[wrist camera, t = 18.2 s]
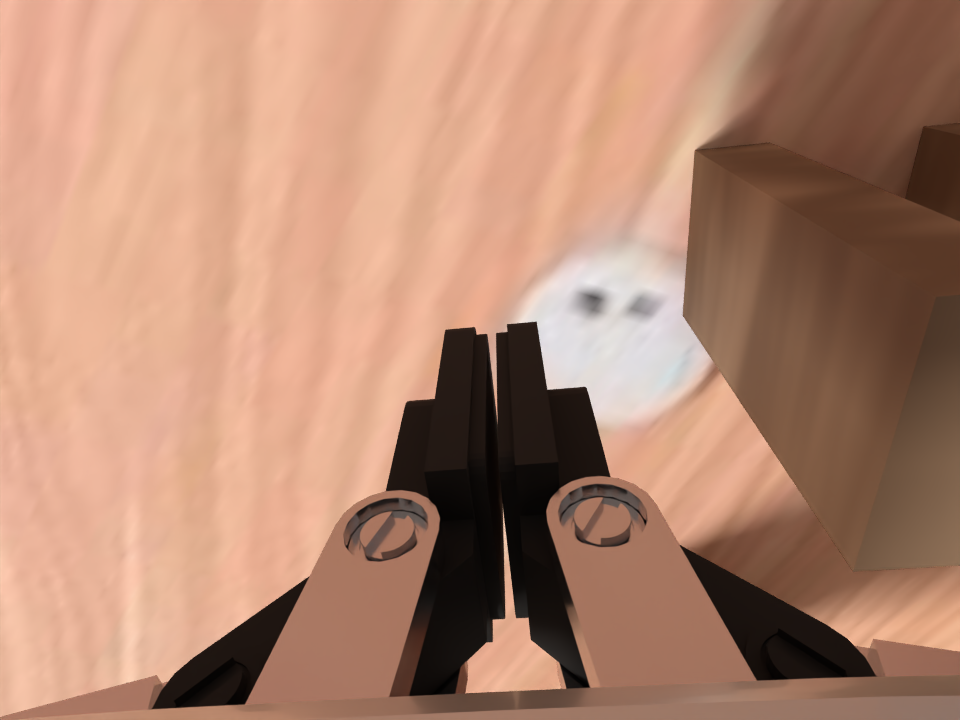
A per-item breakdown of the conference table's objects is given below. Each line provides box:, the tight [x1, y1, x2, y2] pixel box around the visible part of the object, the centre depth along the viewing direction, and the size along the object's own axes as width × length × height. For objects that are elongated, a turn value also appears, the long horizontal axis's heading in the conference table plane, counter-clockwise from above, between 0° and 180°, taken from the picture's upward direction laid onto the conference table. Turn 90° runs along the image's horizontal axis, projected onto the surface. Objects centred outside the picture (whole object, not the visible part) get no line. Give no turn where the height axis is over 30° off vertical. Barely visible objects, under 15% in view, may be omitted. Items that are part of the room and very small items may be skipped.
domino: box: [683, 143, 960, 572], centre depth 13 cm, size 2×5×10 cm, turn 6°
